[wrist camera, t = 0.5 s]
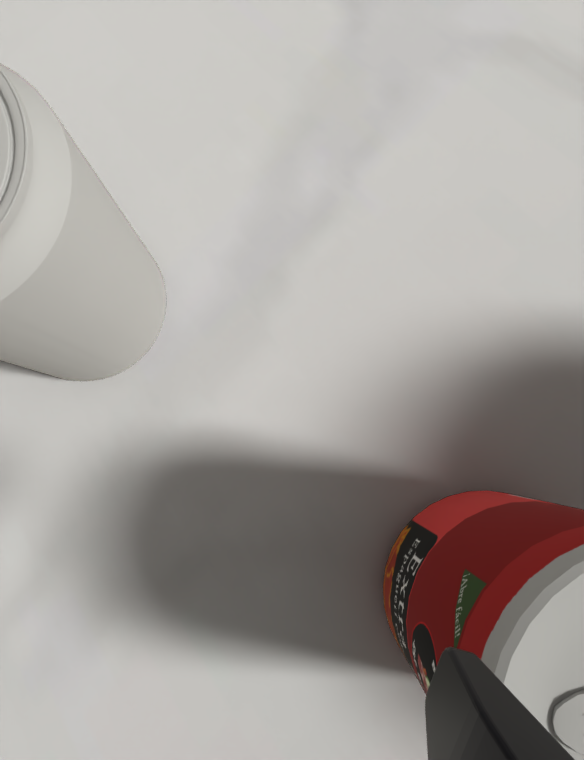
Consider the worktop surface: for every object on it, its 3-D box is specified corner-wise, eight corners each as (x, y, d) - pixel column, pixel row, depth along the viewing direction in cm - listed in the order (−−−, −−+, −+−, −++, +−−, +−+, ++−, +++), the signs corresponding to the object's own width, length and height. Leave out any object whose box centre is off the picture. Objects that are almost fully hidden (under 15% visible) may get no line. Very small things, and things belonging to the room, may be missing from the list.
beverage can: (-12, 285, 22) (-358, 100, 10) (121, 205, 23) (-59, -60, 11) (66, 413, 21) (-202, 378, 10) (200, 329, 22) (106, 195, 10)
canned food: (358, 512, 21) (439, 586, 10) (547, 467, 22) (820, 494, 11) (404, 710, 20) (546, 1018, 9) (601, 660, 21) (956, 903, 10)
